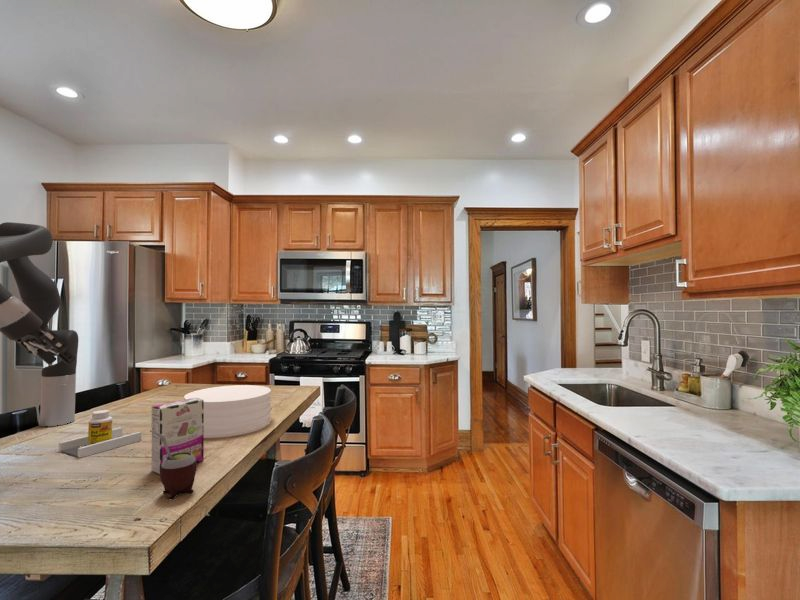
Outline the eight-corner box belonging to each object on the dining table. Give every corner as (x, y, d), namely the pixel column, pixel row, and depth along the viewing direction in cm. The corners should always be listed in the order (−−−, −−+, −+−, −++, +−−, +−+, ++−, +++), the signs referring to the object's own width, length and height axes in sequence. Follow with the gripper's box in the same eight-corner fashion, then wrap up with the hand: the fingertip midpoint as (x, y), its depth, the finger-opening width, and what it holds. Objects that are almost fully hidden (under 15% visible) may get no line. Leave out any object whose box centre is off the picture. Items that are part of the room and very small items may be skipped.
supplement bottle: (86, 451, 109) (87, 415, 109) (89, 445, 114) (90, 410, 114) (111, 447, 112) (111, 412, 112) (112, 441, 117) (113, 408, 117)
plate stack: (282, 415, 147) (283, 385, 147) (246, 439, 119) (247, 402, 119) (214, 413, 150) (214, 384, 150) (163, 436, 122) (164, 400, 122)
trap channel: (79, 458, 103) (80, 448, 104) (58, 451, 108) (58, 442, 108) (141, 440, 118) (141, 432, 118) (120, 435, 123) (120, 427, 123)
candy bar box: (193, 457, 104) (194, 396, 105) (204, 460, 102) (205, 399, 102) (149, 471, 95) (150, 405, 95) (159, 476, 92) (161, 408, 93)
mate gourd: (202, 485, 87) (203, 419, 88) (183, 502, 79) (185, 430, 80) (169, 485, 87) (170, 419, 88) (147, 502, 79) (148, 430, 80)
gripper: (43, 306, 95) (90, 351, 105) (11, 309, 101) (59, 352, 110) (13, 326, 90) (65, 372, 99) (-19, 328, 95) (34, 372, 104)
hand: (62, 361), depth 104 cm, fingers open, 8 cm apart
